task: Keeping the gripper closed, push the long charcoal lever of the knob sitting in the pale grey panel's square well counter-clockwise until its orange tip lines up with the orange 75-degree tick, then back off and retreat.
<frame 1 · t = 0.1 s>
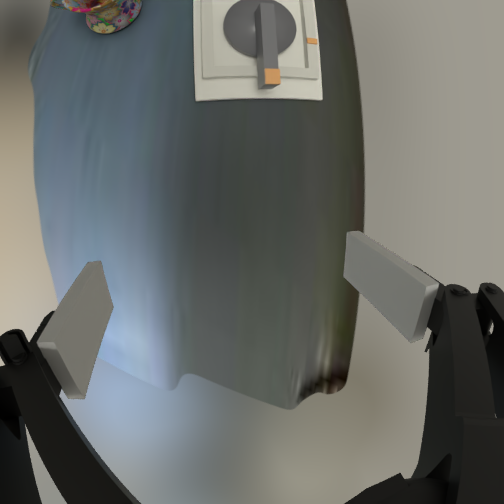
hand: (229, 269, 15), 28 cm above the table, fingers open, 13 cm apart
mug: (106, 13, 27), on the table
dial: (264, 36, 30), point 4 cm above the table, hinge at 0.0°
panel: (256, 31, 33), on the table
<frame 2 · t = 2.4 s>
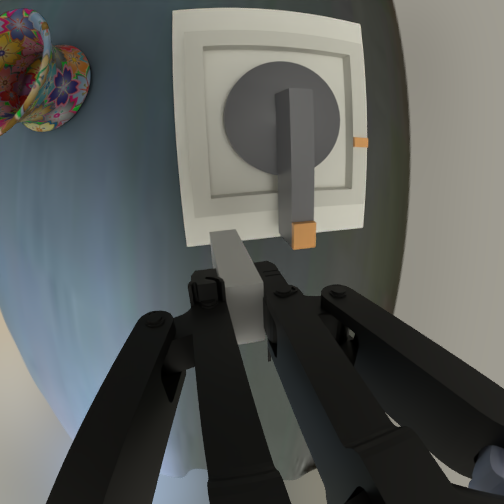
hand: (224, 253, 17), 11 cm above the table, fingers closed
mug: (43, 91, 19), on the table
dial: (292, 147, 22), point 4 cm above the table, hinge at 0.0°
panel: (276, 118, 25), on the table
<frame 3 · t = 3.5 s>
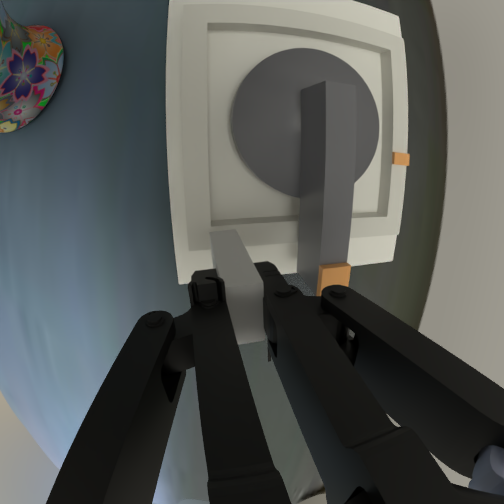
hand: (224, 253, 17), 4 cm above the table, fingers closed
mug: (10, 82, 13), on the table
dial: (322, 162, 16), point 4 cm above the table, hinge at 0.0°
panel: (298, 123, 19), on the table
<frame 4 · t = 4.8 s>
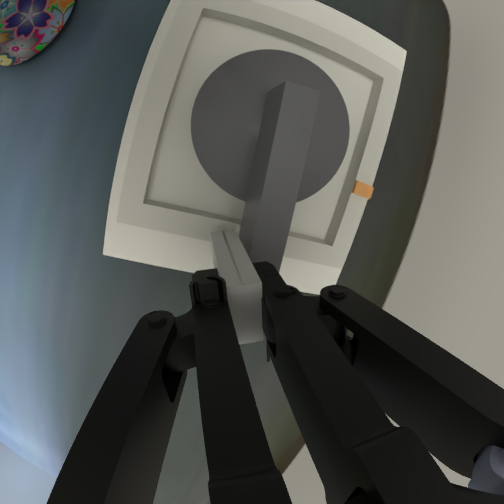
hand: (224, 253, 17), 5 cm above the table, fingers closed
mug: (23, 21, 11), on the table
dial: (273, 167, 16), point 4 cm above the table, hinge at 5.1°, touching gripper
panel: (264, 127, 19), on the table
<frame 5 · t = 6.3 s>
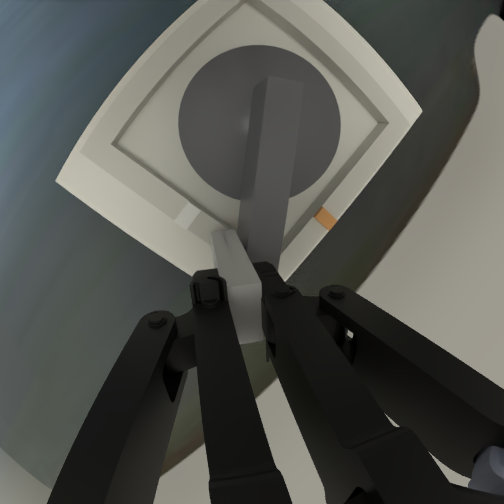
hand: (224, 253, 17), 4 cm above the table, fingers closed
dial: (264, 164, 16), point 4 cm above the table, hinge at 33.4°, touching gripper
panel: (254, 124, 19), on the table
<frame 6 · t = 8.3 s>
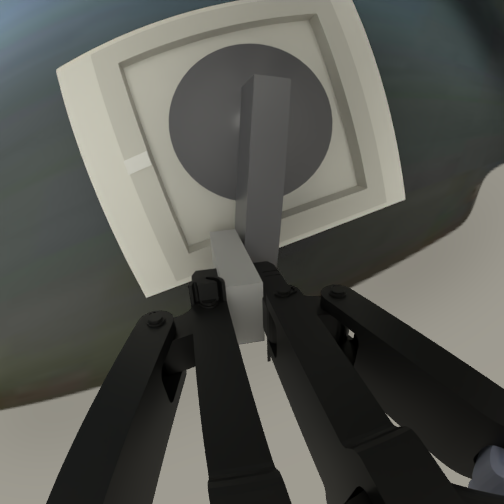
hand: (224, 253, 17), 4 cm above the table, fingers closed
dial: (257, 162, 16), point 4 cm above the table, hinge at 69.1°, touching gripper
panel: (246, 122, 18), on the table
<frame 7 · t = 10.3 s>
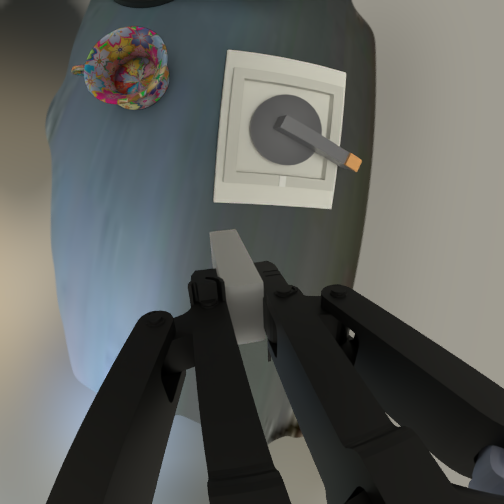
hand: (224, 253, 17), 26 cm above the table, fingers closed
mug: (130, 81, 33), on the table
dial: (307, 138, 36), point 4 cm above the table, hinge at 69.1°
panel: (281, 130, 39), on the table
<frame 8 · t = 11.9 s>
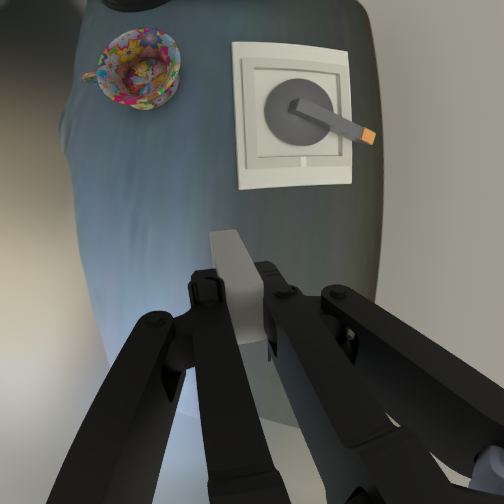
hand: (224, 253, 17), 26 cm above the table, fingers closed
mug: (140, 83, 34), on the table
dial: (321, 117, 36), point 4 cm above the table, hinge at 69.1°
panel: (294, 113, 39), on the table
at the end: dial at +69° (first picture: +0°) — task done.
